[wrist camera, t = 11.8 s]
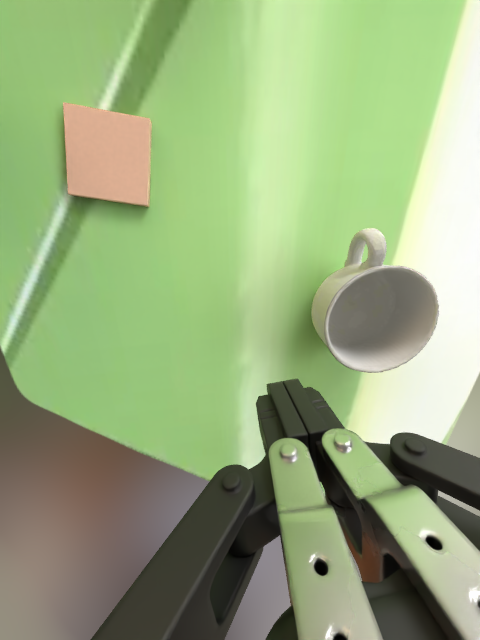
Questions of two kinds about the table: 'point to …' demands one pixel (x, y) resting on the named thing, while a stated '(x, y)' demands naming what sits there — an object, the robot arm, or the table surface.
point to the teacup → (374, 309)
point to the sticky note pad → (107, 155)
